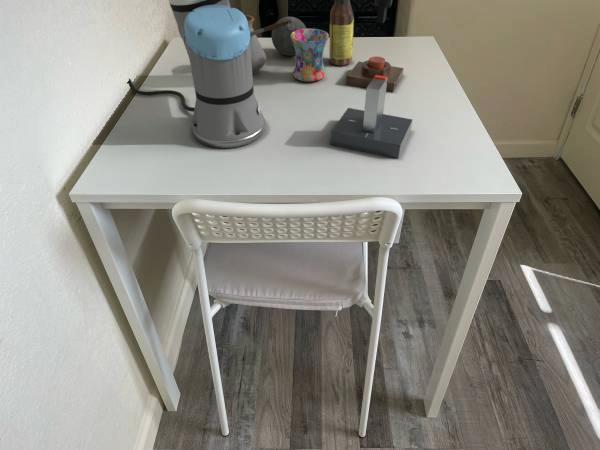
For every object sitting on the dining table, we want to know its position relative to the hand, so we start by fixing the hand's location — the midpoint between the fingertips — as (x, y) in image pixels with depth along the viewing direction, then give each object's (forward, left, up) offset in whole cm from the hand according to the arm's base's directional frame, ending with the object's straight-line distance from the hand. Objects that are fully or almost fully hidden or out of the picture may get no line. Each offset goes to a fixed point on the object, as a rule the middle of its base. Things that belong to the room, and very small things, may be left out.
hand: (381, 21), depth 106 cm
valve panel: (+7, -28, -14) cm, 32 cm away
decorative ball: (-27, +8, -15) cm, 32 cm away
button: (0, 0, -11) cm, 11 cm away
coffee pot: (-29, -7, -15) cm, 33 cm away
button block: (0, 0, -14) cm, 14 cm away
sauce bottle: (-12, +8, -15) cm, 21 cm away
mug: (-16, -3, -15) cm, 22 cm away
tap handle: (+7, -28, -11) cm, 31 cm away
